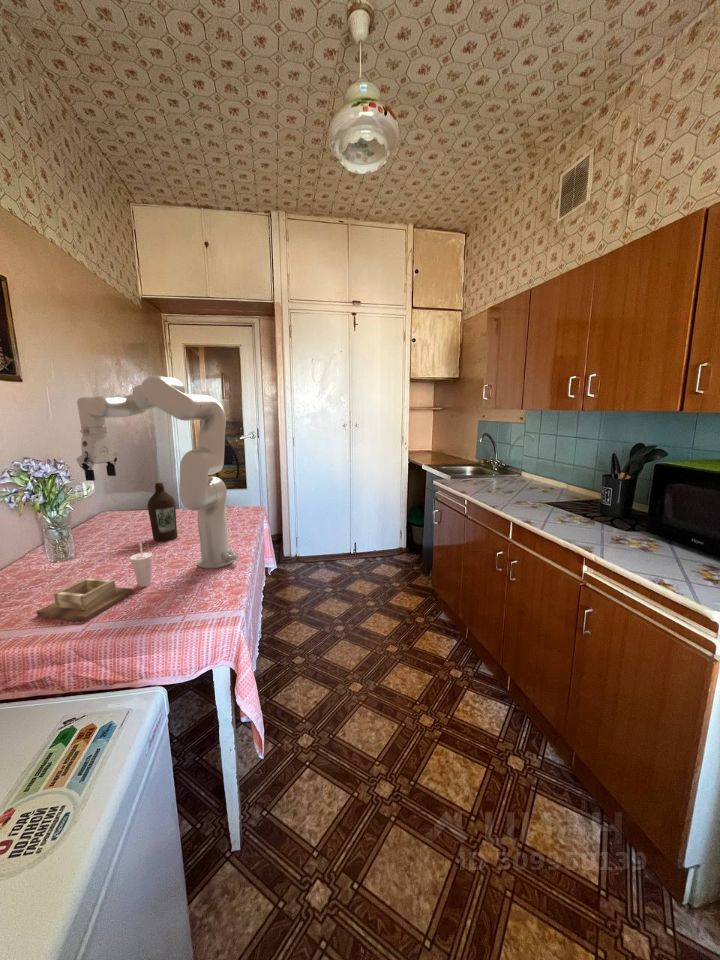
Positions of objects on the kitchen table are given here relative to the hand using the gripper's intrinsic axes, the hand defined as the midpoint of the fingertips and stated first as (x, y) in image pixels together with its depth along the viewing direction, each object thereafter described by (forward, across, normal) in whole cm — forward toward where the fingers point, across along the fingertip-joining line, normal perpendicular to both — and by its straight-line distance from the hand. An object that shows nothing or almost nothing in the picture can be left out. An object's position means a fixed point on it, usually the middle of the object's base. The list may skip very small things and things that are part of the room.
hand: (101, 478), depth 140 cm
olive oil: (+31, +20, -8) cm, 38 cm away
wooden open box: (+31, -34, -22) cm, 51 cm away
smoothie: (+31, -21, -30) cm, 48 cm away
